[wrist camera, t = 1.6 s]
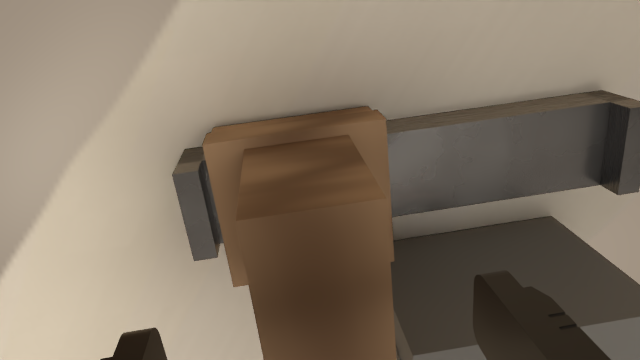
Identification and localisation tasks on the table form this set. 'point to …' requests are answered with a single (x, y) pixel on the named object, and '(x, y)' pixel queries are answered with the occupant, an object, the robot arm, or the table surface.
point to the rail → (473, 158)
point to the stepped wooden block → (310, 231)
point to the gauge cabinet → (526, 267)
